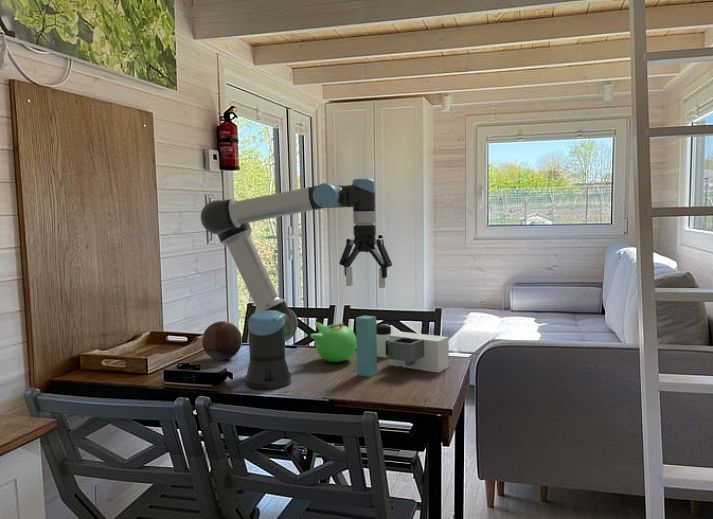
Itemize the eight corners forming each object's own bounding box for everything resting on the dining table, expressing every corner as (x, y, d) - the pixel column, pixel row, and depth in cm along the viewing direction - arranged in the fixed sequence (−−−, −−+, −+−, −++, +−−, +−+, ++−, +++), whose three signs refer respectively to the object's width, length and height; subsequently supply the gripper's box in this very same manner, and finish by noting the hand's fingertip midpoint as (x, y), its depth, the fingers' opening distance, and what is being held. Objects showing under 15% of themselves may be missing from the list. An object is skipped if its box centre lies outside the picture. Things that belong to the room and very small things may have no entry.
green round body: (356, 366, 213) (355, 326, 212) (310, 367, 214) (309, 327, 213) (357, 354, 231) (356, 318, 230) (315, 355, 232) (314, 318, 231)
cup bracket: (389, 367, 204) (388, 341, 203) (402, 361, 211) (401, 336, 211) (411, 370, 199) (411, 344, 198) (424, 364, 206) (424, 339, 206)
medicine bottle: (386, 358, 225) (385, 327, 224) (370, 355, 229) (370, 325, 228) (396, 354, 231) (395, 324, 230) (381, 352, 235) (380, 322, 234)
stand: (389, 364, 215) (389, 335, 214) (400, 360, 221) (400, 331, 220) (438, 372, 203) (438, 341, 202) (448, 367, 210) (448, 337, 209)
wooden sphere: (247, 355, 234) (246, 318, 233) (234, 364, 220) (233, 325, 218) (211, 354, 237) (210, 318, 235) (196, 364, 222) (194, 325, 221)
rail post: (357, 374, 202) (355, 317, 201) (365, 371, 207) (364, 315, 205) (369, 377, 200) (367, 318, 198) (377, 373, 204) (376, 316, 202)
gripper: (401, 224, 195) (402, 287, 197) (341, 224, 209) (342, 283, 211) (389, 224, 189) (390, 289, 191) (328, 225, 203) (330, 285, 205)
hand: (365, 286), depth 201 cm, fingers open, 13 cm apart
